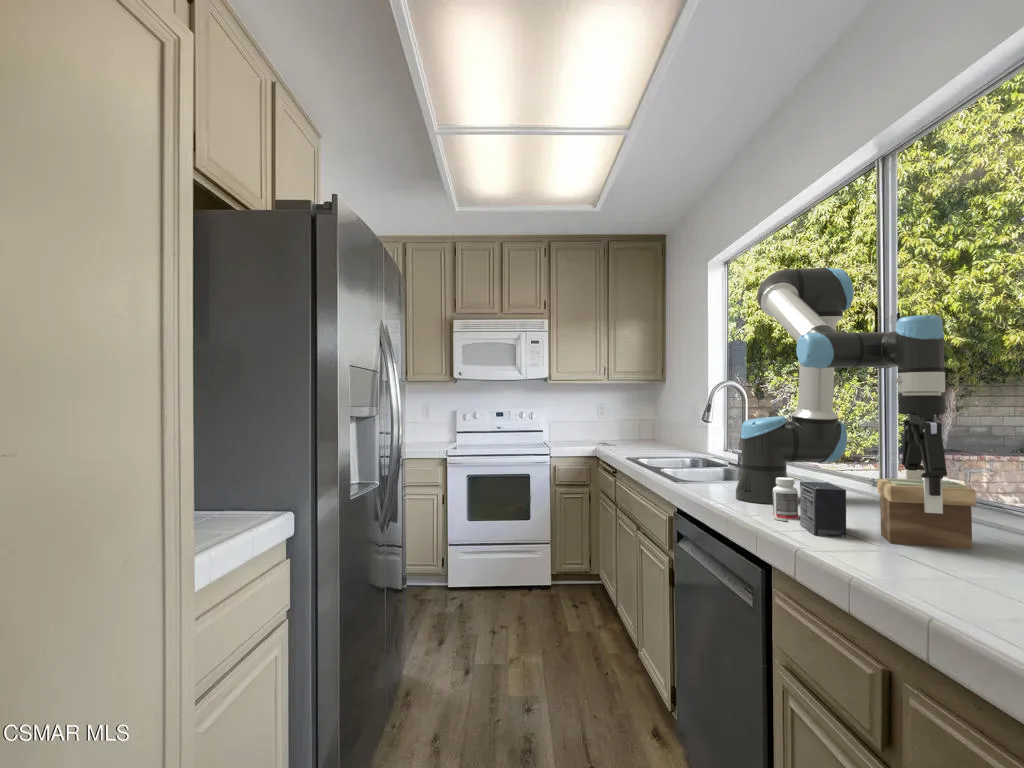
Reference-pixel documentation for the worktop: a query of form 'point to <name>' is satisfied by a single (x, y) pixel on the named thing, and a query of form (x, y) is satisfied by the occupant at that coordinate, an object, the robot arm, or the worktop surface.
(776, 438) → the robot arm
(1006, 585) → the worktop surface
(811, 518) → the small box
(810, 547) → the worktop surface
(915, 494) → the lid
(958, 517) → the tea box
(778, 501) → the pill bottle
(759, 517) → the worktop surface
